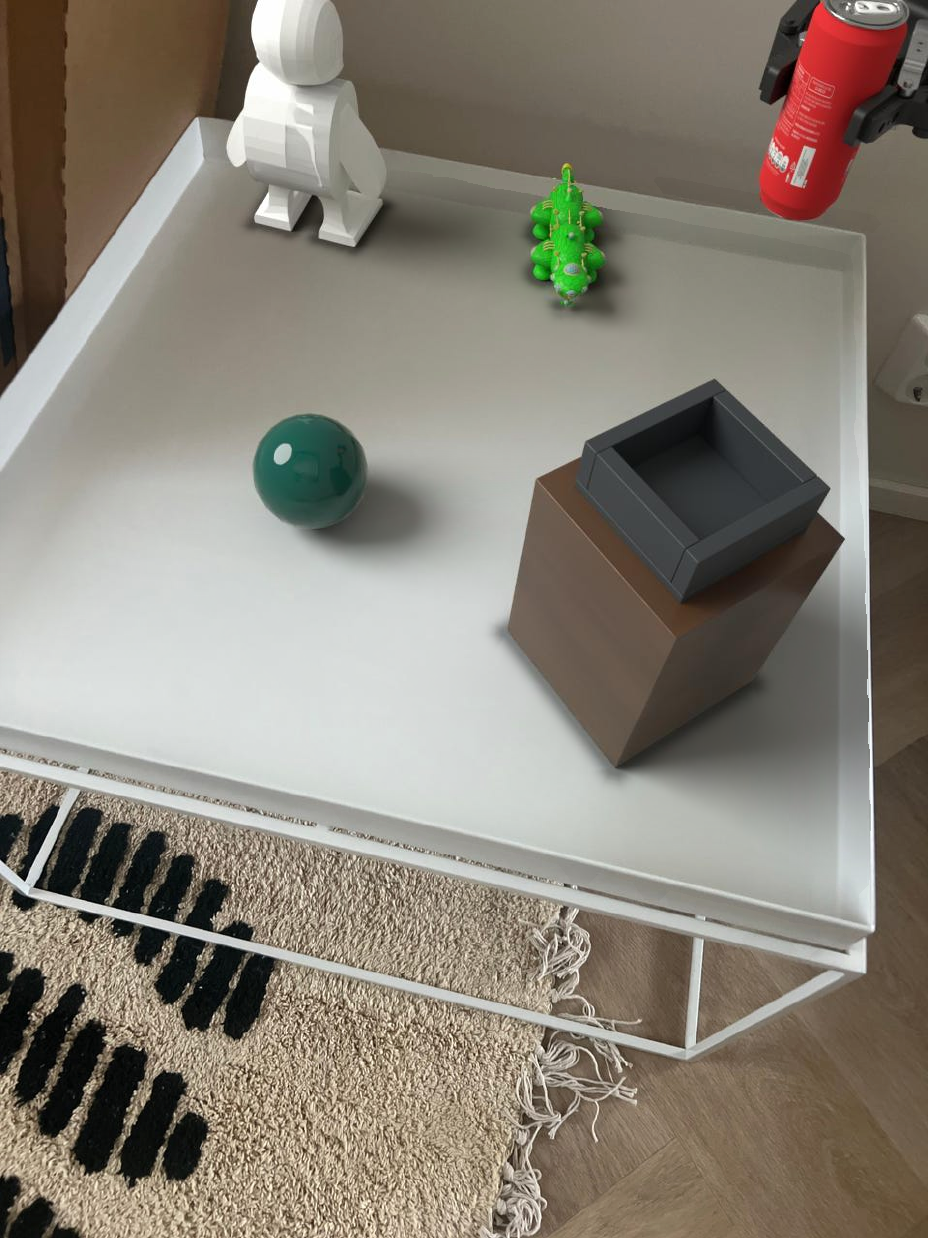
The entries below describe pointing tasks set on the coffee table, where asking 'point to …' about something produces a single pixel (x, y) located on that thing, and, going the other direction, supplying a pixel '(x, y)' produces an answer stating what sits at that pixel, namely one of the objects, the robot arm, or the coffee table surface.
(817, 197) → the beverage can
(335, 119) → the toy robot
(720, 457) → the socket
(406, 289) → the coffee table surface
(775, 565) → the stand
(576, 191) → the crocodile figurine
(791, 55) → the robot arm
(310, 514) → the sphere
